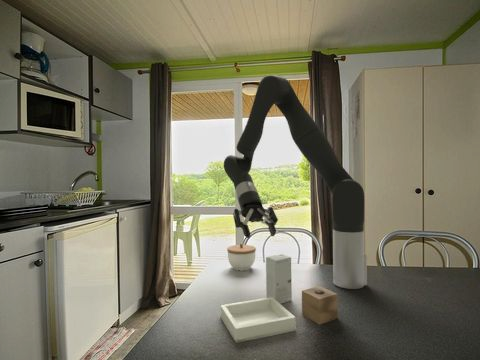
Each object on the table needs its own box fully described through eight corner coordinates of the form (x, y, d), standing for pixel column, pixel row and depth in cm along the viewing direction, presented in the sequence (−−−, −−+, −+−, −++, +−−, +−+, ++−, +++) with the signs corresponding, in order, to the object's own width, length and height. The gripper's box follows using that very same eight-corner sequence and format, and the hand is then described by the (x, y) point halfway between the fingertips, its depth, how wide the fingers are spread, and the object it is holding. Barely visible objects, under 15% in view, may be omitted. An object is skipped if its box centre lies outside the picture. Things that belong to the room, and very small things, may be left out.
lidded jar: (238, 262, 119) (238, 239, 119) (261, 267, 113) (261, 242, 113) (221, 269, 110) (221, 244, 110) (245, 274, 104) (244, 248, 104)
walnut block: (319, 309, 77) (319, 285, 77) (337, 318, 71) (337, 293, 71) (302, 314, 74) (301, 290, 74) (319, 324, 68) (319, 298, 68)
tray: (272, 308, 77) (272, 296, 77) (295, 330, 66) (295, 317, 66) (220, 317, 72) (220, 305, 72) (236, 343, 61) (235, 328, 61)
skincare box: (275, 305, 79) (275, 260, 78) (265, 300, 82) (264, 256, 82) (292, 300, 82) (292, 256, 82) (282, 295, 86) (281, 253, 86)
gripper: (231, 190, 99) (243, 230, 88) (269, 189, 103) (285, 227, 93) (226, 204, 104) (237, 244, 93) (263, 203, 109) (278, 240, 98)
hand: (261, 235), depth 93 cm, fingers open, 8 cm apart
